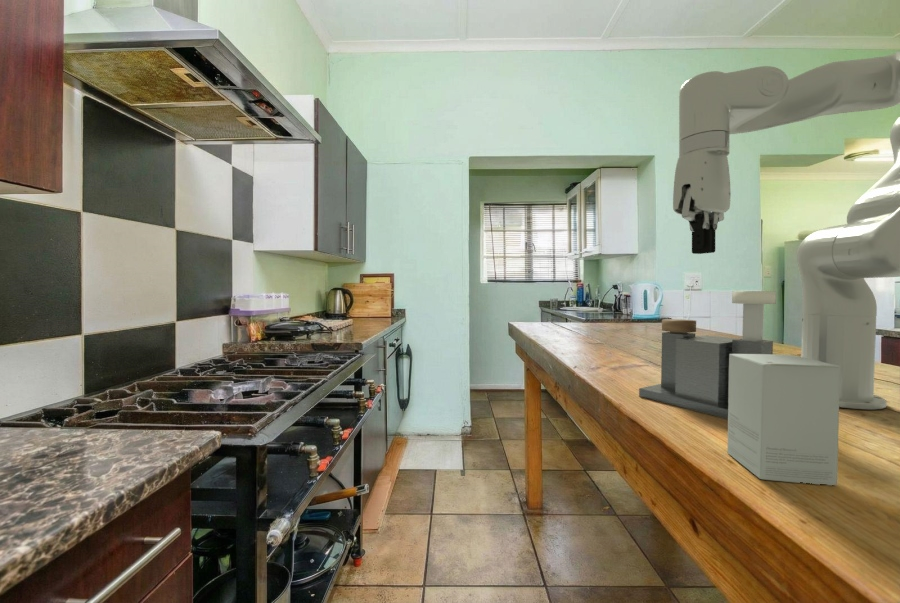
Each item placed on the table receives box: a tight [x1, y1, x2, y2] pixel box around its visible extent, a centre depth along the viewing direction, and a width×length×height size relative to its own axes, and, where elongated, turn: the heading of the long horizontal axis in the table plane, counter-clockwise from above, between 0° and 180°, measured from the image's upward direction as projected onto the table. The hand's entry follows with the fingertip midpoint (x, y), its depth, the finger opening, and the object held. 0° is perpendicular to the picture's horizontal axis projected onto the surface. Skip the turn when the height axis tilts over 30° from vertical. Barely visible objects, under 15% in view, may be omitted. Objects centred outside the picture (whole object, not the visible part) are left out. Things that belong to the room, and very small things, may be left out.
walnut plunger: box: [661, 318, 697, 334], centre depth 74 cm, size 6×6×12 cm
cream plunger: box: [731, 290, 777, 342], centre depth 64 cm, size 6×6×12 cm
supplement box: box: [726, 354, 840, 486], centre depth 44 cm, size 7×7×13 cm
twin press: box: [638, 331, 774, 420], centre depth 69 cm, size 13×19×12 cm
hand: (703, 252), depth 70 cm, fingers closed
